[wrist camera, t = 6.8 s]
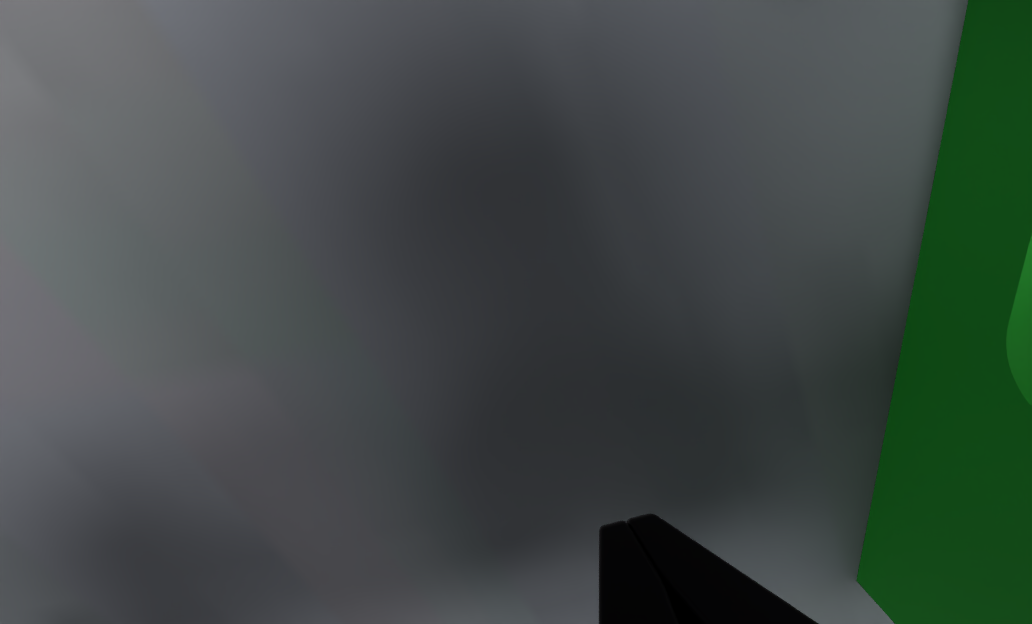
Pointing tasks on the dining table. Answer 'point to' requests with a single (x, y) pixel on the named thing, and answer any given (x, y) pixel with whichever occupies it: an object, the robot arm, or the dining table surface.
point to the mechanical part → (966, 359)
